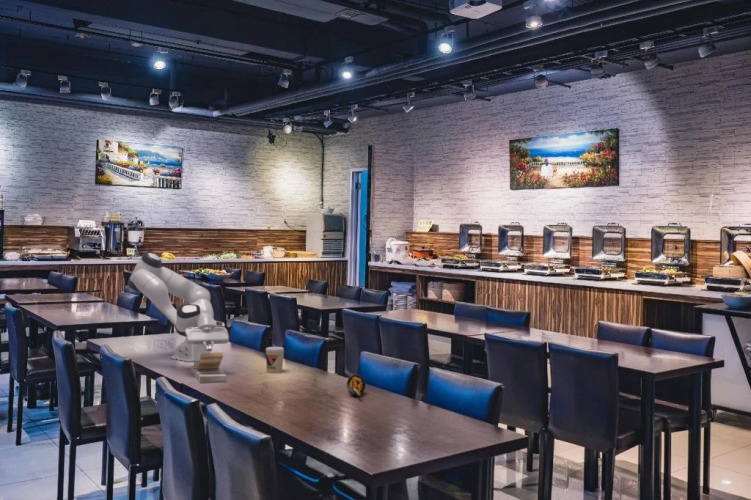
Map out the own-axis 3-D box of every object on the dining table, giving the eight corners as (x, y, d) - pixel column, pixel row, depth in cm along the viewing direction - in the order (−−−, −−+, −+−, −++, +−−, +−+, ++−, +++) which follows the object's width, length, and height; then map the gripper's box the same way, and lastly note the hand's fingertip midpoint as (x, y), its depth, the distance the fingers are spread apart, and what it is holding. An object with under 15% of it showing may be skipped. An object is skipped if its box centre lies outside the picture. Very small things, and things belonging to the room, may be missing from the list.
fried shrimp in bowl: (363, 380, 314) (378, 375, 299) (356, 403, 310) (371, 399, 294) (345, 373, 312) (359, 367, 296) (338, 396, 308) (351, 392, 292)
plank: (197, 370, 331) (197, 366, 332) (218, 369, 335) (218, 365, 337) (201, 357, 322) (201, 353, 323) (223, 356, 326) (222, 352, 327)
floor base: (191, 371, 343) (191, 361, 342) (215, 370, 347) (215, 360, 347) (200, 383, 318) (200, 372, 318) (226, 381, 323) (226, 371, 323)
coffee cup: (261, 372, 348) (261, 348, 348) (272, 369, 356) (273, 346, 356) (276, 374, 343) (277, 350, 343) (287, 371, 352) (287, 347, 351)
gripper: (185, 323, 333) (187, 347, 325) (227, 322, 342) (231, 345, 333) (183, 331, 338) (186, 354, 329) (225, 330, 346) (229, 353, 337)
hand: (209, 350), depth 331 cm, fingers closed
